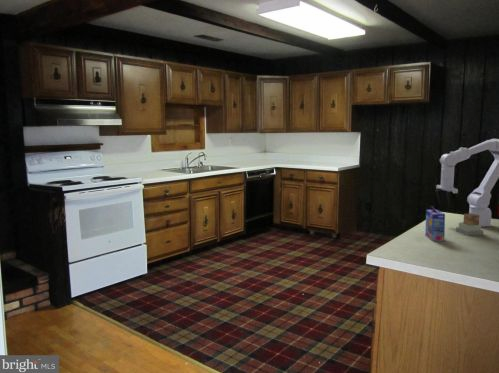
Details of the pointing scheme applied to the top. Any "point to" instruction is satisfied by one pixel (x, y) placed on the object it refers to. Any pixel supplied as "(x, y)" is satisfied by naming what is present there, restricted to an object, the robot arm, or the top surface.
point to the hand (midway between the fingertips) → (445, 205)
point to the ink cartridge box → (435, 225)
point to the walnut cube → (471, 219)
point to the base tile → (469, 232)
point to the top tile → (469, 227)
